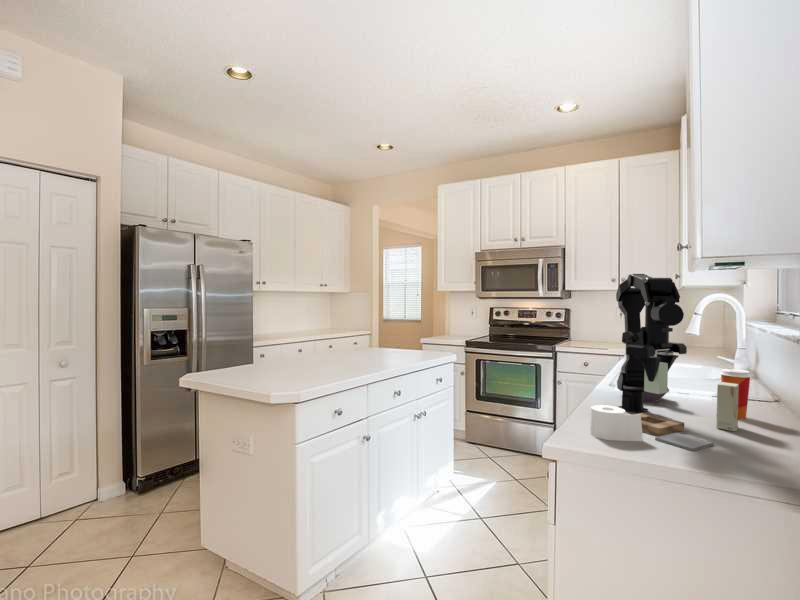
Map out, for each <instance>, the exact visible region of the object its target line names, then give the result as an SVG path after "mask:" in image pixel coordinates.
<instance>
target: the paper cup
mask: <svg viewBox="0 0 800 600" xmlns="http://www.w3.org/2000/svg"><path fill="white" fill-rule="evenodd" d="M719 374H720V379H721V382H726V383H734V384H739V392H738V420H745V419H746V418H747V410H748V402H749V391H750V381H751V378H752V375H751V373H750V371H748V370H743V369H736V368H735V369H733V368H723V369H721V371H720V372H719Z"/></svg>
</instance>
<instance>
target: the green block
mask: <svg viewBox="0 0 800 600" xmlns="http://www.w3.org/2000/svg"><path fill="white" fill-rule="evenodd" d="M668 372H669V371H668V363H662V362H660V363H659V366H658V370H657V373H656V376H655V379H654V381H653V382H651V381H649V380H648V377H647V374H646V371H644V391H646V392H651V393H655V394H662V393H666V394H668V392H667V387H668V376H669V375H668V374H669V373H668Z"/></svg>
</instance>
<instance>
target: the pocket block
mask: <svg viewBox="0 0 800 600" xmlns="http://www.w3.org/2000/svg"><path fill="white" fill-rule="evenodd" d="M633 415H641V424H642V433H647V434H650V435H653V436H656V437H659V436H663V435H667V434H671V433H675V432H676V433H679V432H682V431H684V430H685V422H682V421H679V420H675V419H671V418H667V417H663V416H661V415H660V416H659V415H655V414H651V413H647V412H638V413H635V414H633Z"/></svg>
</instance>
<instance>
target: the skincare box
mask: <svg viewBox="0 0 800 600" xmlns="http://www.w3.org/2000/svg"><path fill="white" fill-rule="evenodd" d="M716 389H717V395H716V428H717V429H720V430H726V431H731V432H736V431H737V429H738V427H739V419H738V392H739V384H734V383H726V382H719V383H718V384H717V388H716Z"/></svg>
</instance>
